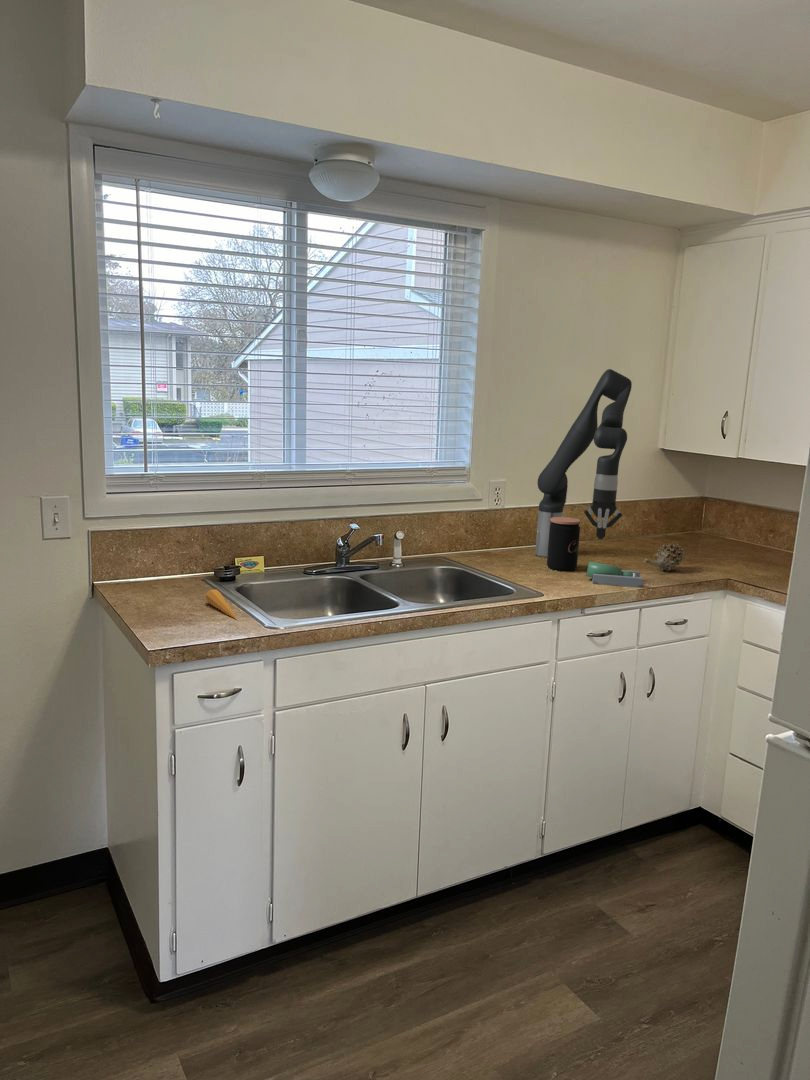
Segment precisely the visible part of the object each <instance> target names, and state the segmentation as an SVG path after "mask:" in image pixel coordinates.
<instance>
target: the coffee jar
mask: <svg viewBox="0 0 810 1080" xmlns="http://www.w3.org/2000/svg"><path fill="white" fill-rule="evenodd" d="M550 521H551V524H550V529H549V542H548V555H547V557H546V565H547V568H548V569H549V568H550V569H549V570H551V569H552V570H551V571H555V570H557V571H556V572H562V571H570V572H573V570H574V571H576V569H577V568H578V567H577V566H578V558H579V557H578V556H579V547H580V536H581V535H580V533H581V527H580V524H581V519H579V518H575V517H569V516H563V517H552V518H550Z"/></svg>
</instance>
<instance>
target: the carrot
mask: <svg viewBox="0 0 810 1080" xmlns="http://www.w3.org/2000/svg"><path fill="white" fill-rule="evenodd" d="M205 594H206V595H205V600H206V601H207V603H209V604H210V605H211V606H212V607H214V608H215V609H217V608H218V609H217V610H219V611H220V610H221V612H222V613H223V614H225V615H227V616H228V615H229V617H230V616H231V617H230V618H232V617H233V618H232V619H234V618H235V620H236V619H237V617H236V615H235V612H234V611H233V610H232V608H231V607H230V605H229V603H228V601H227V600H226V599H225V598H224V595H222V593H221V592H220V591H219V590H218V589H209V590H208V591H207V592H206V593H205Z"/></svg>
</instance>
